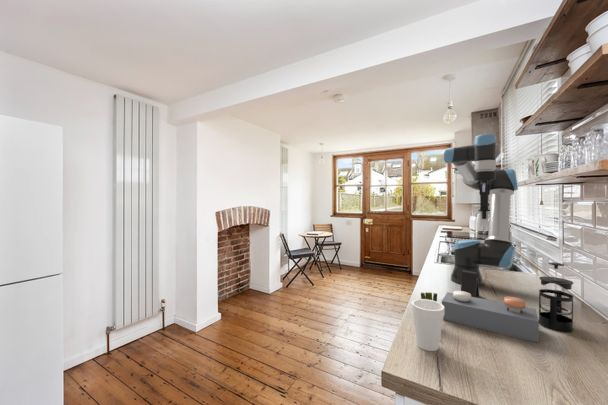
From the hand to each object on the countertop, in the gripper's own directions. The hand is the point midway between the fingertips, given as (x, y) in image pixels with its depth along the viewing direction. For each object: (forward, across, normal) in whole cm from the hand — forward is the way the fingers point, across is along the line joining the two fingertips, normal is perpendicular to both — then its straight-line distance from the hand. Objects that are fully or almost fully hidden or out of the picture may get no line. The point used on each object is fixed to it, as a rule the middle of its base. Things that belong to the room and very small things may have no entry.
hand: (484, 226), depth 113 cm
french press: (+35, +5, +22) cm, 41 cm away
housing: (+34, +18, +2) cm, 39 cm away
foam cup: (+35, +47, -12) cm, 60 cm away
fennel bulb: (+35, +32, -15) cm, 49 cm away
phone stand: (+35, -10, -6) cm, 37 cm away
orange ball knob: (+32, +18, +10) cm, 38 cm away
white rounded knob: (+33, +18, -6) cm, 38 cm away
